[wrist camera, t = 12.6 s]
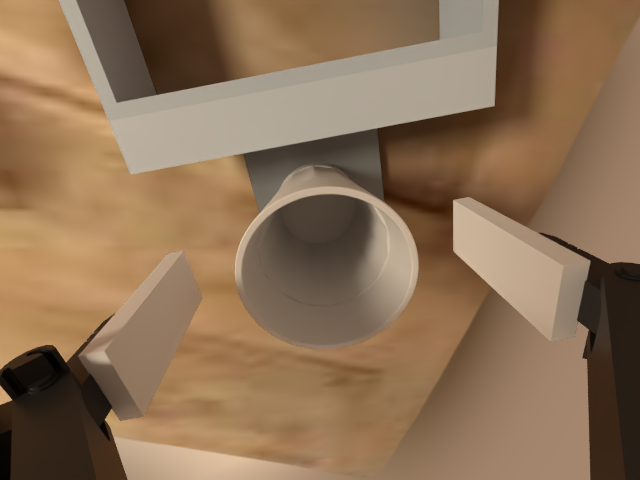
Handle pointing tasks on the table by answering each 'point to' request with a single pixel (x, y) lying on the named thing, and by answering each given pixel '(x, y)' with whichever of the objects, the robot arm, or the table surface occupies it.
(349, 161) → the pad
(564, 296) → the robot arm
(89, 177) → the table surface
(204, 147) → the rectangular frame
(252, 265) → the cup
